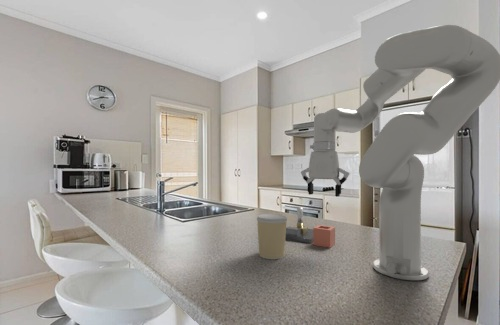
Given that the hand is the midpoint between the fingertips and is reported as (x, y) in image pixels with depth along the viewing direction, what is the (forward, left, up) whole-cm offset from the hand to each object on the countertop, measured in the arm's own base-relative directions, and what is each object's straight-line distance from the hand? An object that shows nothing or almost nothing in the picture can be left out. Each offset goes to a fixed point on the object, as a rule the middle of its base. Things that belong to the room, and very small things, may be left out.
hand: (323, 195), depth 93 cm
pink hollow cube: (0, 0, -18) cm, 18 cm away
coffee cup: (-21, +10, -18) cm, 29 cm away
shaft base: (+6, +11, -18) cm, 21 cm away
